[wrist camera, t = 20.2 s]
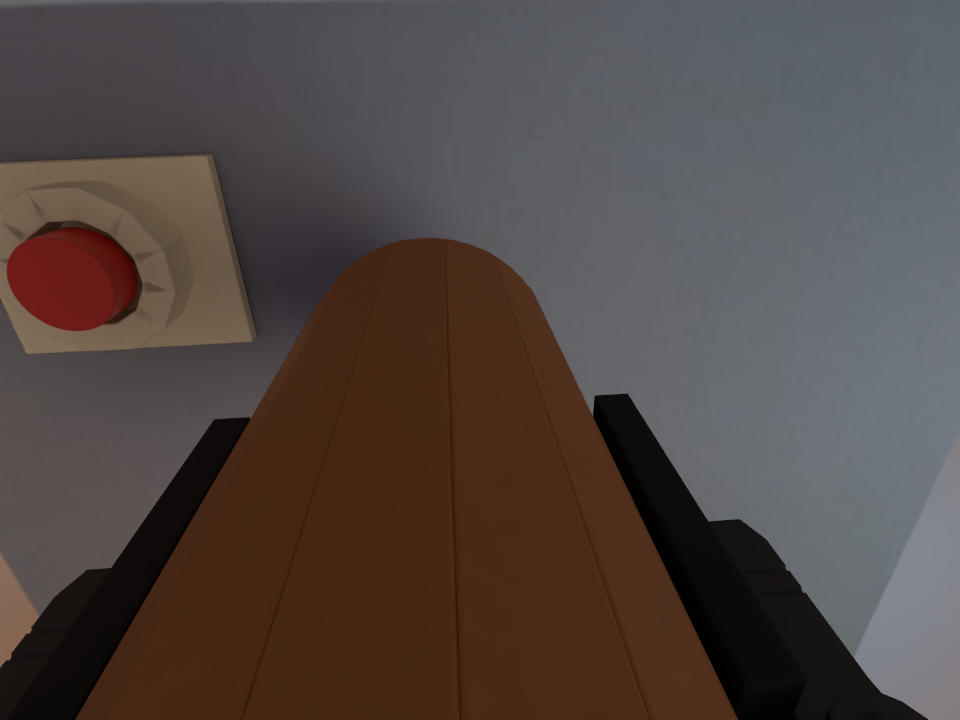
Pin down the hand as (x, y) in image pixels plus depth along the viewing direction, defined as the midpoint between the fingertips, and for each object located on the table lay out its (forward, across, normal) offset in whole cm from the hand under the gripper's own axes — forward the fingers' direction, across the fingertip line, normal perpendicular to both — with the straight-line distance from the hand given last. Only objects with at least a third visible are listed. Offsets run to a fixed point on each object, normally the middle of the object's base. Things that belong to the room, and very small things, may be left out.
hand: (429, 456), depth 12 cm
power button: (+11, -13, +2) cm, 17 cm away
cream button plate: (+13, -13, +2) cm, 19 cm away
